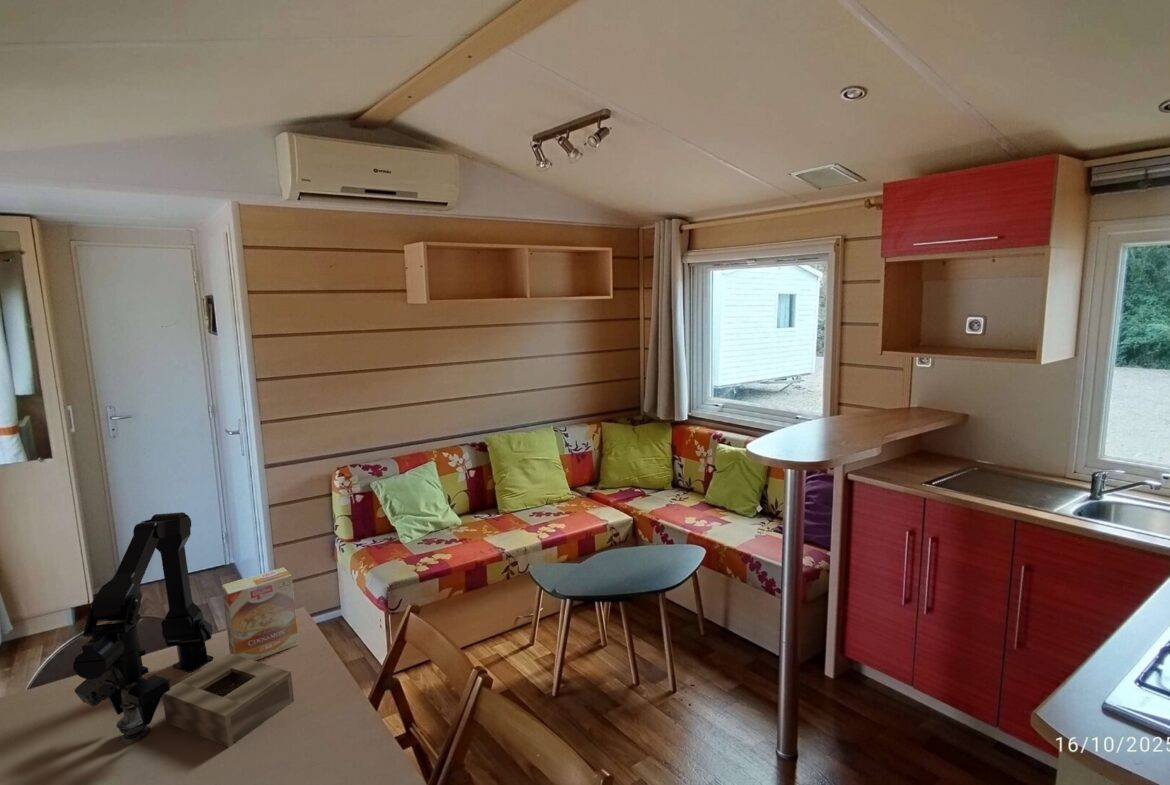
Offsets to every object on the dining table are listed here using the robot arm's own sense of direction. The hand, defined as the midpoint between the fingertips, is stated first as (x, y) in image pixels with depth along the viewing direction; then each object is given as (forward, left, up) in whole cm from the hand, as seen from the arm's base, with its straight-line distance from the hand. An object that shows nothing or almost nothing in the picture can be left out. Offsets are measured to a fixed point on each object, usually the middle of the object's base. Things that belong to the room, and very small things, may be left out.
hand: (133, 718), depth 133 cm
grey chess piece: (0, 0, -4) cm, 4 cm away
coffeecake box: (-2, +33, -4) cm, 33 cm away
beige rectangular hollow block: (+12, +13, -4) cm, 18 cm away
